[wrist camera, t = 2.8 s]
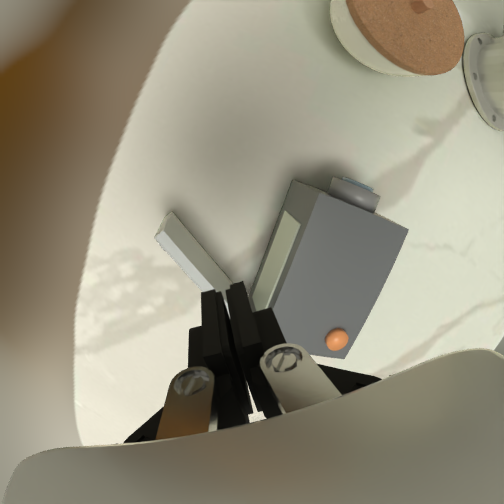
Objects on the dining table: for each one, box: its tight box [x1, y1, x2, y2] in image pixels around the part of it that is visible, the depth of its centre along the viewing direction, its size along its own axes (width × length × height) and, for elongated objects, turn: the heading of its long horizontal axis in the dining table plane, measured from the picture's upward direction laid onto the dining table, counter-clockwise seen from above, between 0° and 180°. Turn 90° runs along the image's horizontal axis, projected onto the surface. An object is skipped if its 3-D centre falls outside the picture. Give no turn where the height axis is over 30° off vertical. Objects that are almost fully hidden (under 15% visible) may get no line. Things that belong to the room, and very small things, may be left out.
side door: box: [154, 212, 233, 317], centre depth 24 cm, size 10×1×6 cm, turn 36°
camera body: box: [248, 177, 409, 359], centre depth 24 cm, size 14×8×7 cm, turn 161°
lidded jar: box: [330, 0, 464, 77], centre depth 17 cm, size 11×11×9 cm
